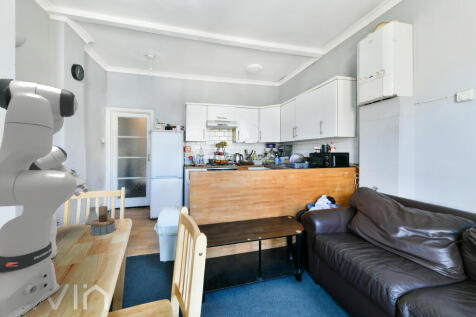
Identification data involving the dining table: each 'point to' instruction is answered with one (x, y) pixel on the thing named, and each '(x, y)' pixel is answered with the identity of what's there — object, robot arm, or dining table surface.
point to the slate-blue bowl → (102, 229)
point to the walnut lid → (102, 218)
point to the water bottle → (53, 235)
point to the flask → (91, 216)
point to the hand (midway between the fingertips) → (83, 193)
